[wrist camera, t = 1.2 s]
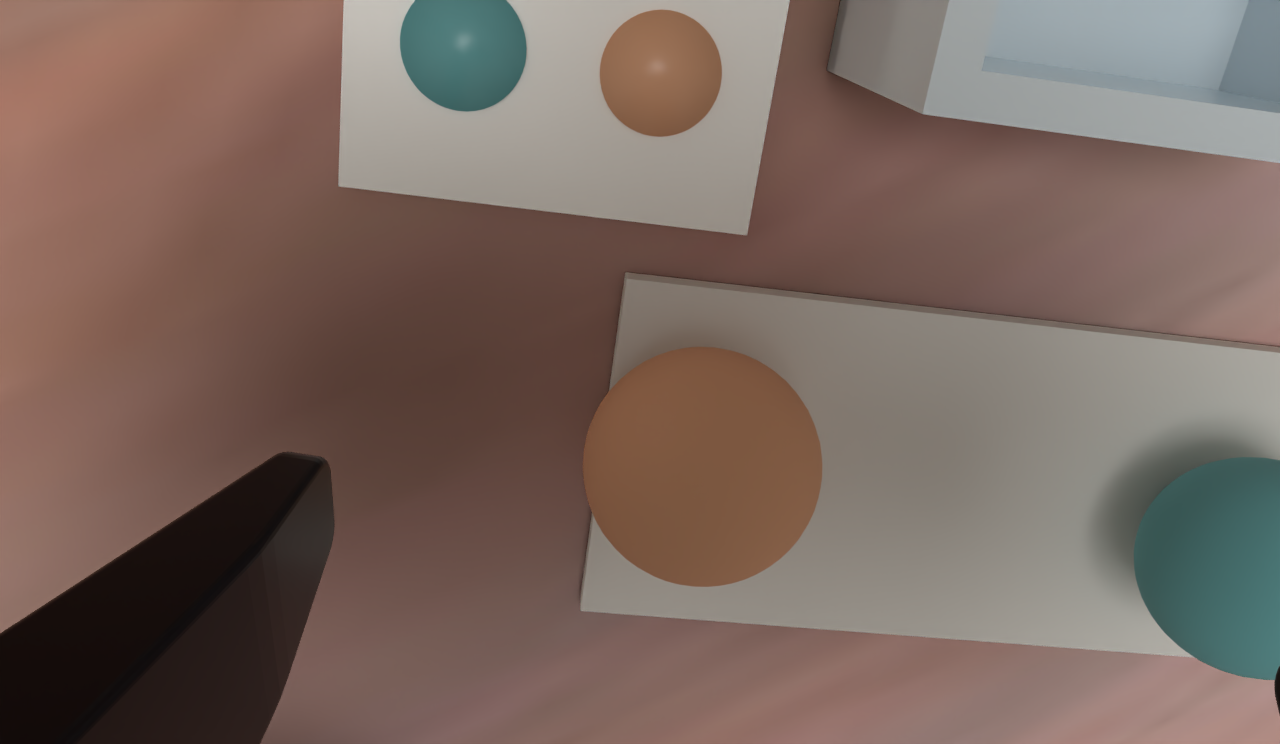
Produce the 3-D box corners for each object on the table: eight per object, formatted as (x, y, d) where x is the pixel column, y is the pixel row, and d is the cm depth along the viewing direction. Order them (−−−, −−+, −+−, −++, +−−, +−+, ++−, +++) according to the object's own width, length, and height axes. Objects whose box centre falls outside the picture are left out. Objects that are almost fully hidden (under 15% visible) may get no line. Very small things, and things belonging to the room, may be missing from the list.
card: (744, 231, 18) (747, 236, 18) (342, 182, 17) (337, 187, 17) (799, -73, 16) (804, -73, 16) (351, -143, 16) (346, -145, 15)
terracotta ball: (773, 517, 20) (820, 646, 16) (569, 500, 20) (570, 627, 16) (813, 326, 19) (876, 420, 15) (595, 302, 18) (602, 392, 14)
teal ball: (1248, 601, 22) (1390, 736, 18) (1070, 586, 21) (1177, 721, 17) (1321, 431, 20) (1490, 539, 16) (1131, 411, 20) (1262, 518, 16)
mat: (1255, 651, 23) (1266, 663, 22) (579, 599, 21) (580, 610, 21) (1382, 358, 20) (1397, 366, 20) (625, 272, 18) (626, 278, 18)
